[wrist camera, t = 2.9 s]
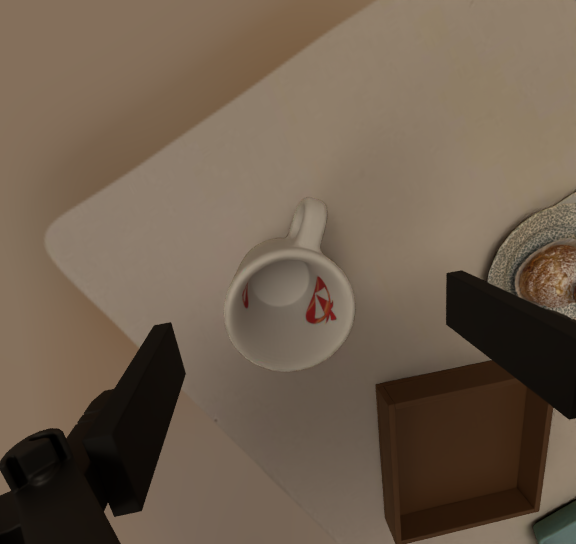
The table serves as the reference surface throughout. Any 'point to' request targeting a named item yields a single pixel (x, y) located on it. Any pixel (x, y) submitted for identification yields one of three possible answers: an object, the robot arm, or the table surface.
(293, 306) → the cup
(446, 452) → the tray
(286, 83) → the table surface
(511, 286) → the pastry
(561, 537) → the shallow long dish
